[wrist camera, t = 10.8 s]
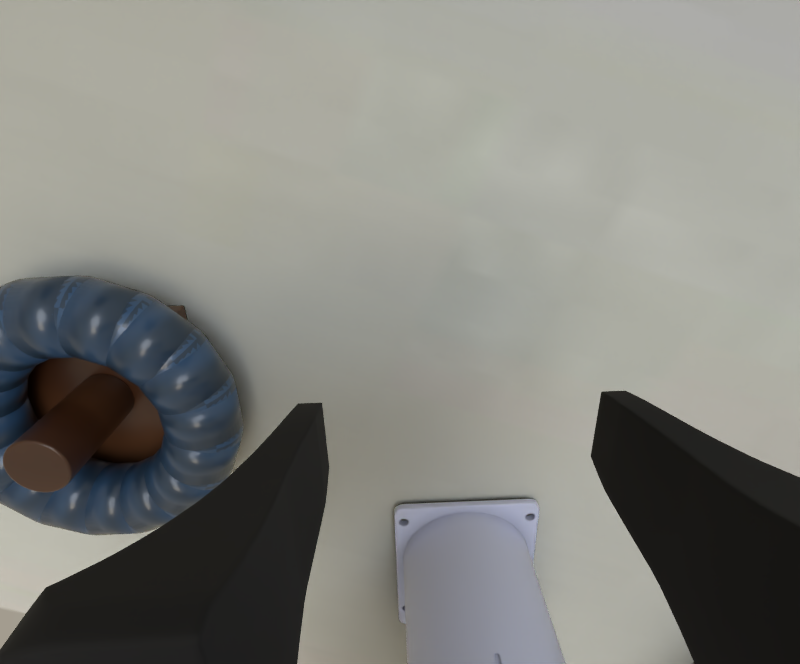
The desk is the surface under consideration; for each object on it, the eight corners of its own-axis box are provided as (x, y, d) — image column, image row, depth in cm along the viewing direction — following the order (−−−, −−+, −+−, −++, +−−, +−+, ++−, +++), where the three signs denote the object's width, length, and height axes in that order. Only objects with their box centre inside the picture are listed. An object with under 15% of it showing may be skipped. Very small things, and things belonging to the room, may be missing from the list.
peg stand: (217, 449, 25) (169, 543, 19) (61, 455, 25) (-31, 551, 19) (184, 304, 22) (116, 368, 16) (4, 311, 21) (-126, 377, 16)
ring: (268, 492, 25) (252, 542, 22) (27, 505, 25) (-21, 557, 22) (221, 259, 20) (193, 284, 17) (-82, 273, 20) (-164, 301, 17)
